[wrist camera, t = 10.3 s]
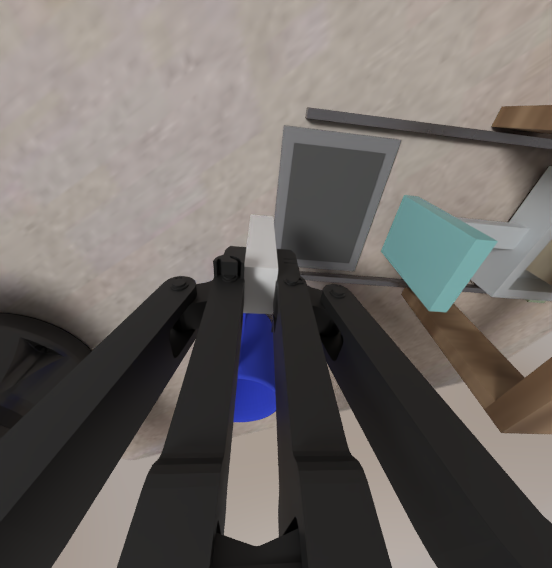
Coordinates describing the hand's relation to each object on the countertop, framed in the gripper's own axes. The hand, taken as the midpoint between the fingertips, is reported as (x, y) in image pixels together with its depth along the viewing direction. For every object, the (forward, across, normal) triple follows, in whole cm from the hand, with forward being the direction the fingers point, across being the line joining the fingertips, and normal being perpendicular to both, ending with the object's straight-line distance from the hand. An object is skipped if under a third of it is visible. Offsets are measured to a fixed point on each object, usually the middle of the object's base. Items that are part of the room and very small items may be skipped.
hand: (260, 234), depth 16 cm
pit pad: (+6, +6, 0) cm, 8 cm away
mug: (+6, -1, -13) cm, 14 cm away
